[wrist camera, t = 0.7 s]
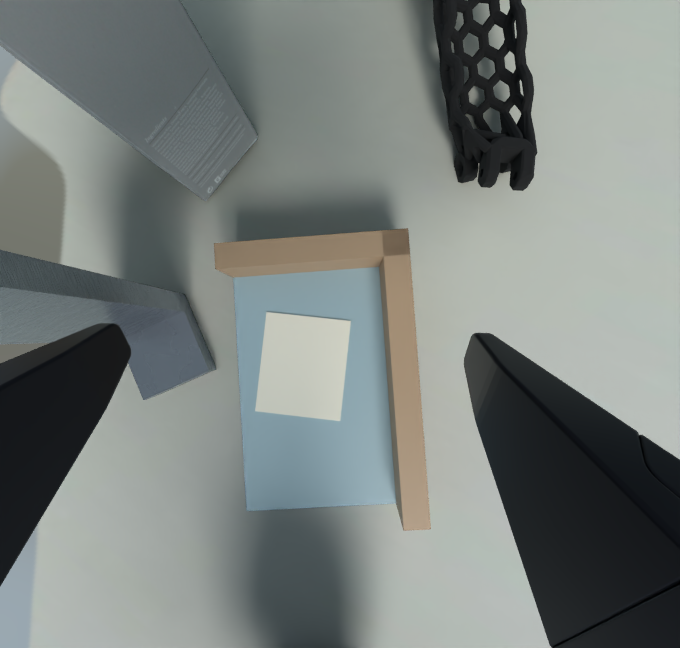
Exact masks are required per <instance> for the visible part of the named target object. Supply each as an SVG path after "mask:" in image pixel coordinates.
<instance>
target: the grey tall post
mask: <svg viewBox="0 0 680 648" xmlns="http://www.w3.org/2000/svg"><path fill="white" fill-rule="evenodd" d="M98 323H115V324H117V325H119V326H120V328H121V329H122V331H123V333H124V335H125V337H126V339H127V341H128V343H129V345H130V347H131V357H130V359H129V362H128V364H129V366H130V368H131V371H132V373H133V376H134V378H135V381H136V383H137V385H138V388H139V390H140V393H141V395H142V398H143V400H146V399H149V398H152V397H155V396H157V395H159V394H161V393H164V392H166V391H168V390H171V389H173V388H175V387H177V386H180V385H182V384H184V383H186V382H189V381H191V380H193V379H195V378H198V377H200V376H202V375H204V374H207V373H209V372H211V371H213V370H216V367H215V365H214V362H213V360H212V358H211V355H210V353H209V350H208V348H207V346H206V343H205V341H204V339H203V336H202V334H201V332H200V329H199V327H198V324H197V322H196V320H195V317H194V315H193V313H192V310H191V308H190V305H189V303H188V301H187V298H186V296H185V294H182V293H177V292H173V291H169V290H165V289H161V288H157V287H153V286H148V285H144V284H140V283H136V282H132V281H128V280H123V279H119V278H115V277H111V276H107V275H103V274H99V273H94V272H90V271H86V270H82V269H78V268H74V267H70V266H65V265H61V264H57V263H52V262H48V261H45V260H40V259H36V258H32V257H28V256H23V255H19V254H15V253H11V252H7V251H3V250H0V344H24V343H51V342H54V341H56V340H59V339H61V338H64V337H66V336H68V335H71V334H73V333H76V332H78V331H81V330H83V329H85V328H88V327H90V326H93V325H95V324H98Z"/></svg>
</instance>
